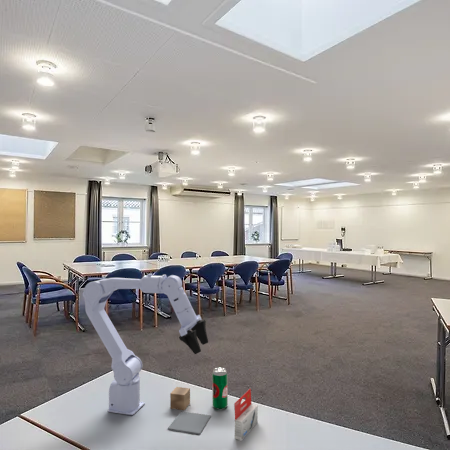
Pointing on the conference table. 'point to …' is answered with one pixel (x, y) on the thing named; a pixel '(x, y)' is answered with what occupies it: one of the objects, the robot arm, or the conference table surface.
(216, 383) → the soda can
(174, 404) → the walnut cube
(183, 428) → the pad
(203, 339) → the robot arm
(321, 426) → the conference table surface
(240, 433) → the ink cartridge box
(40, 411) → the conference table surface
